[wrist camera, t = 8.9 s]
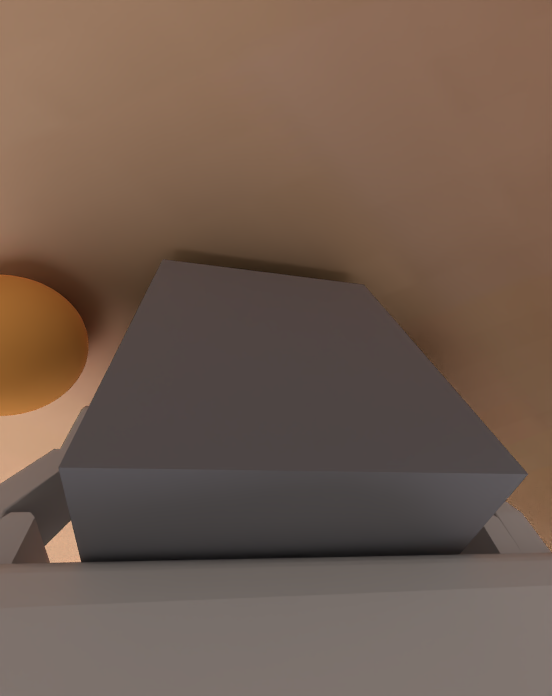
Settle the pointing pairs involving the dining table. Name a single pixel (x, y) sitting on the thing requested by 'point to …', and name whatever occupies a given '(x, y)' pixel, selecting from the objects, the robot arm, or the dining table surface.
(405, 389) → the gray rectangular box
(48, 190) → the dining table surface
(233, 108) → the dining table surface
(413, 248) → the dining table surface
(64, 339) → the ball
